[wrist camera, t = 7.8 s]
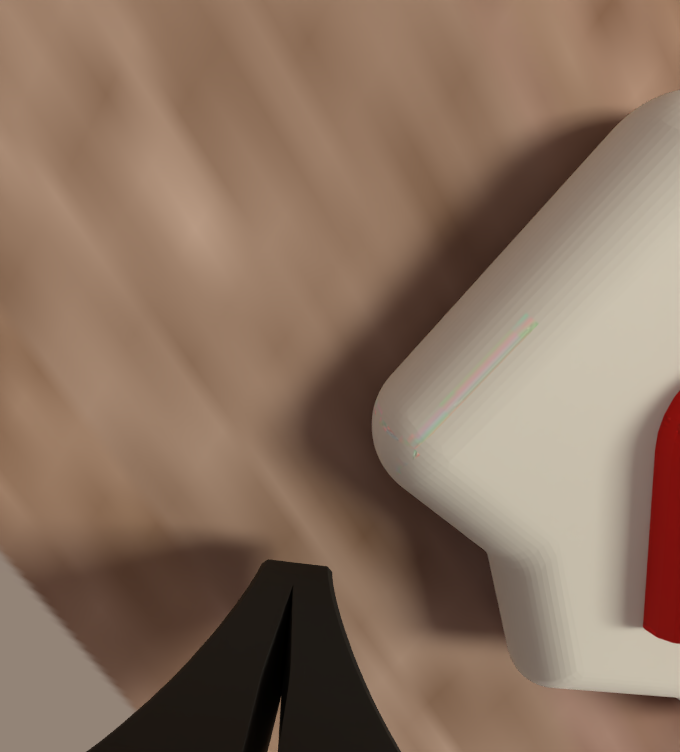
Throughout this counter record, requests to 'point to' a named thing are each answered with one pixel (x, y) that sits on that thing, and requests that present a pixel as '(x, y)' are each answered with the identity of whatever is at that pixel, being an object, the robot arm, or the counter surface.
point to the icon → (566, 420)
